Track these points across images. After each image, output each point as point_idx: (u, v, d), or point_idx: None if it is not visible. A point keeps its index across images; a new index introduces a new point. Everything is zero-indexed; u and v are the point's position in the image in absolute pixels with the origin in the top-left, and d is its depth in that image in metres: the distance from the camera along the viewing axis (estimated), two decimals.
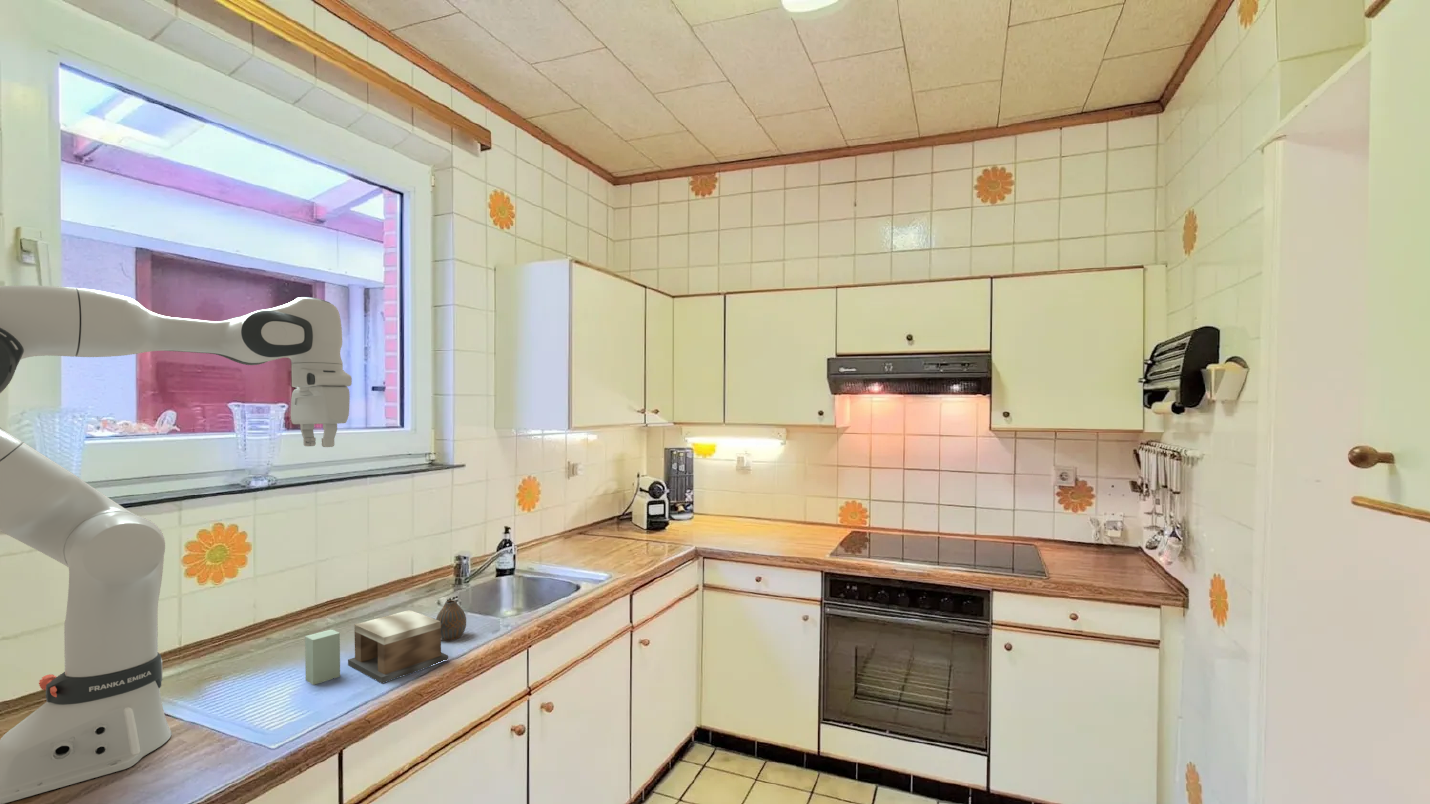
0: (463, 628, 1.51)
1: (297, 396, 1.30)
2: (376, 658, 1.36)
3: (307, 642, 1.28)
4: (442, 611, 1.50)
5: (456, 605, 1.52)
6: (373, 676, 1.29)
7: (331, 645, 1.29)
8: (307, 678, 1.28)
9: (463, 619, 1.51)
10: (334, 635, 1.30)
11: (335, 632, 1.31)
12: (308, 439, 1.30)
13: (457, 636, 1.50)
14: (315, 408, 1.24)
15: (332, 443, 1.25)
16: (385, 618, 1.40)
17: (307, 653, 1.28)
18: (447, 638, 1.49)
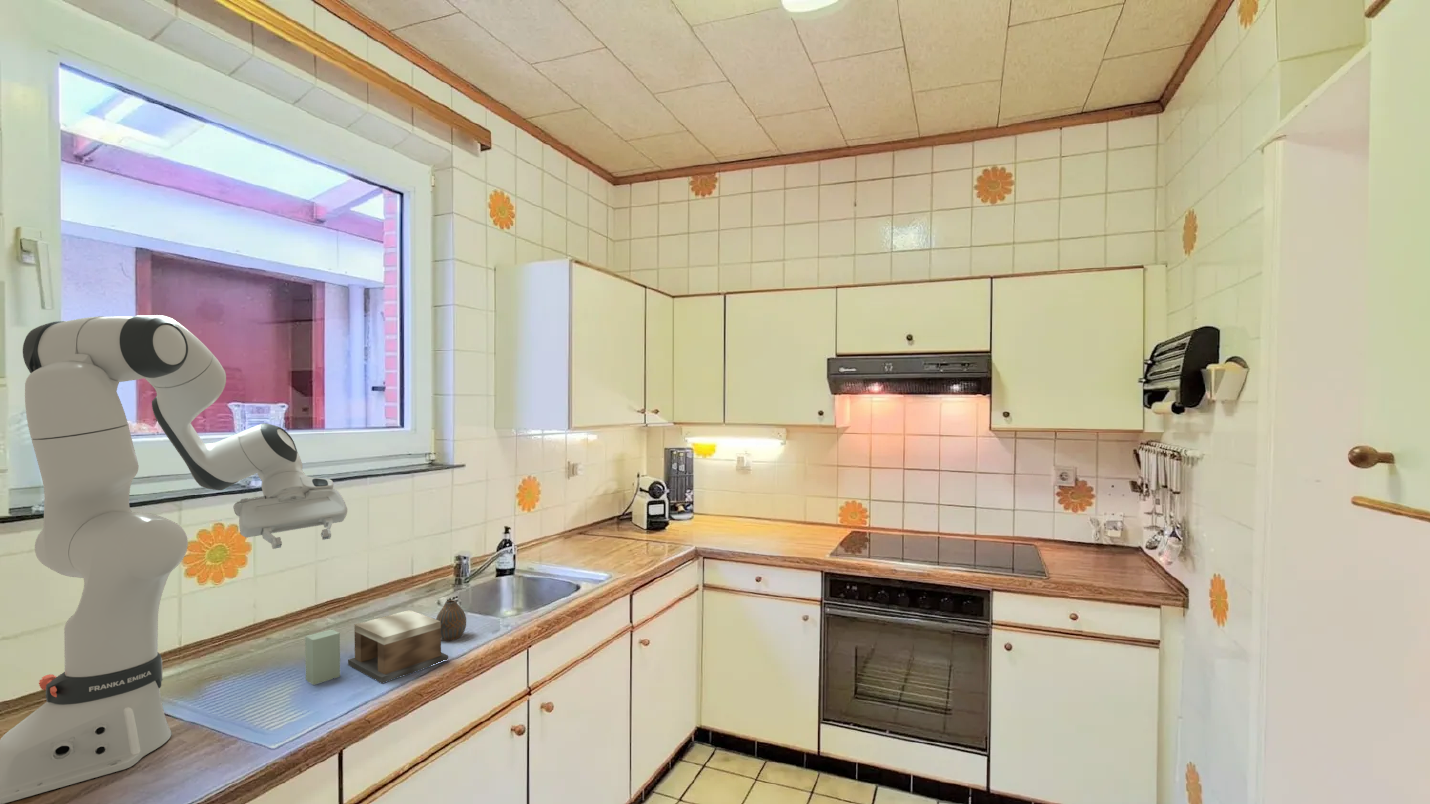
0: (463, 627, 1.51)
1: (262, 504, 1.37)
2: (376, 658, 1.36)
3: (307, 642, 1.28)
4: (442, 611, 1.50)
5: (456, 605, 1.52)
6: (373, 676, 1.29)
7: (332, 645, 1.29)
8: (307, 678, 1.28)
9: (463, 619, 1.51)
10: (334, 635, 1.30)
11: (335, 632, 1.31)
12: None
13: (457, 636, 1.50)
14: (313, 507, 1.43)
15: None
16: (385, 618, 1.40)
17: (307, 653, 1.28)
18: (447, 638, 1.49)
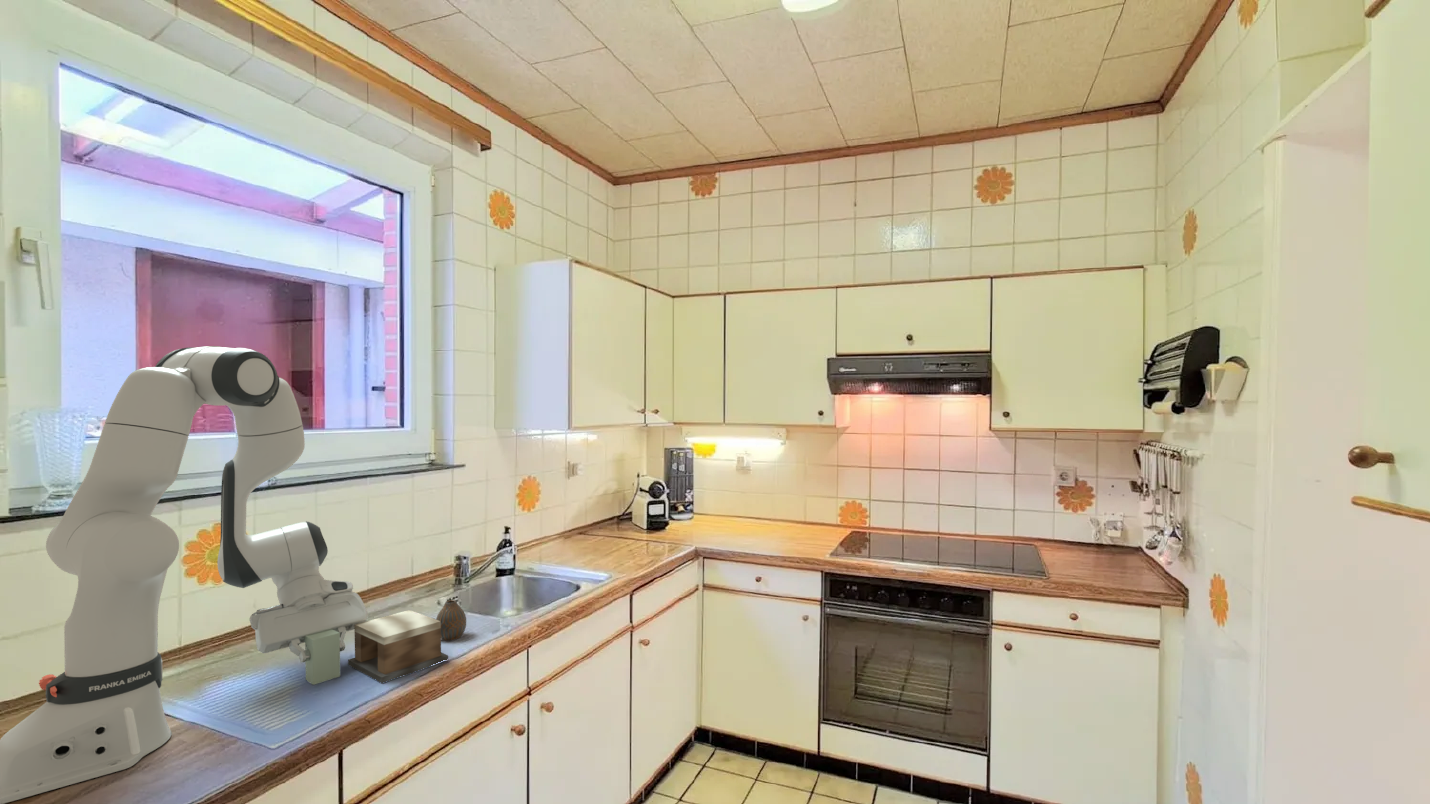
0: (463, 628, 1.51)
1: (280, 615, 1.29)
2: (376, 658, 1.36)
3: (307, 642, 1.28)
4: (442, 611, 1.50)
5: (456, 605, 1.52)
6: (373, 676, 1.29)
7: (331, 645, 1.29)
8: (307, 678, 1.28)
9: (463, 619, 1.51)
10: (334, 634, 1.30)
11: (335, 632, 1.31)
12: None
13: (457, 636, 1.50)
14: (333, 614, 1.35)
15: None
16: (385, 618, 1.40)
17: None
18: (447, 638, 1.49)
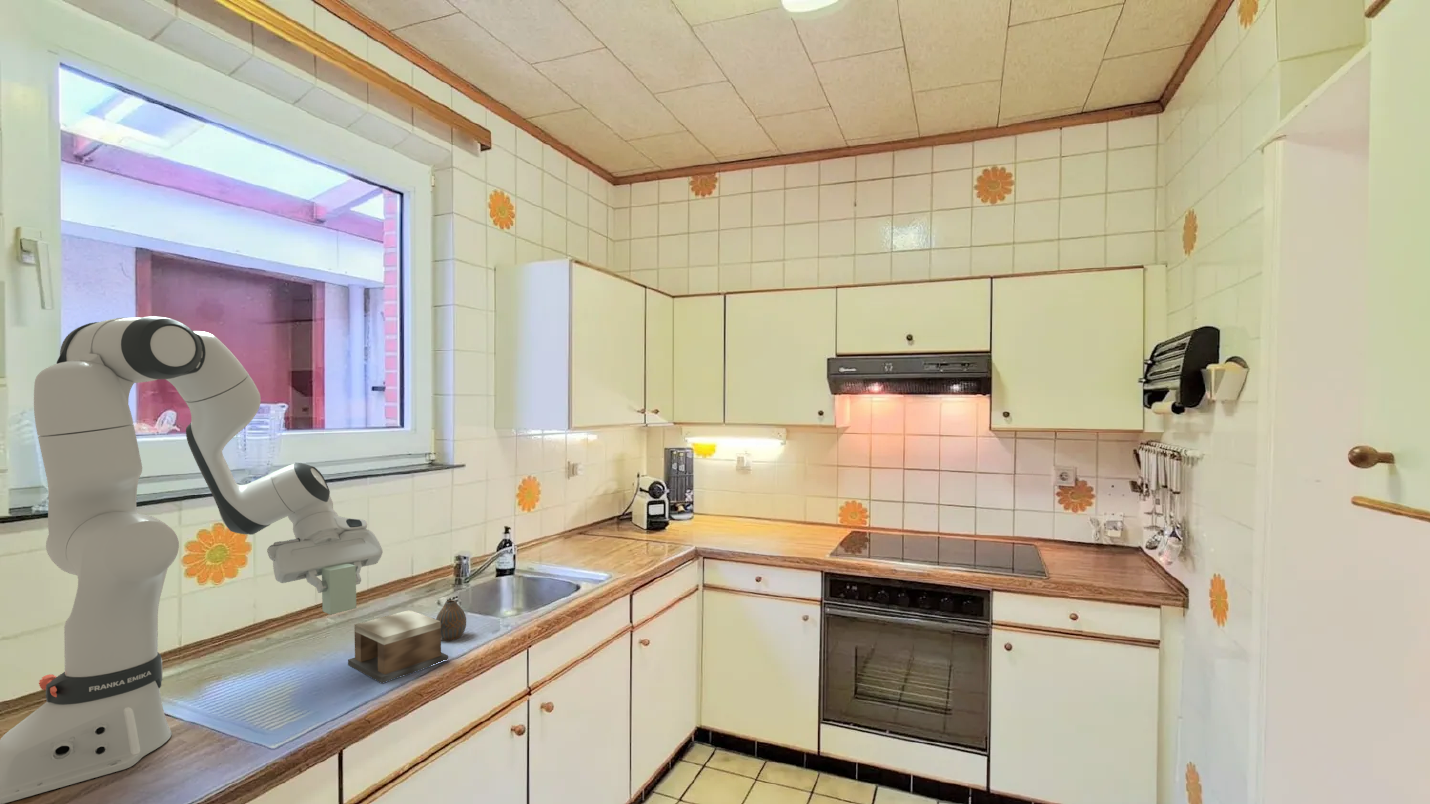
0: (463, 627, 1.51)
1: (297, 547, 1.31)
2: (376, 658, 1.36)
3: (323, 574, 1.30)
4: (442, 611, 1.50)
5: (456, 605, 1.52)
6: (373, 676, 1.29)
7: (348, 577, 1.31)
8: (324, 609, 1.30)
9: (463, 619, 1.51)
10: (350, 567, 1.32)
11: (351, 565, 1.33)
12: None
13: (457, 636, 1.50)
14: (349, 549, 1.37)
15: None
16: (385, 618, 1.40)
17: None
18: (447, 638, 1.49)
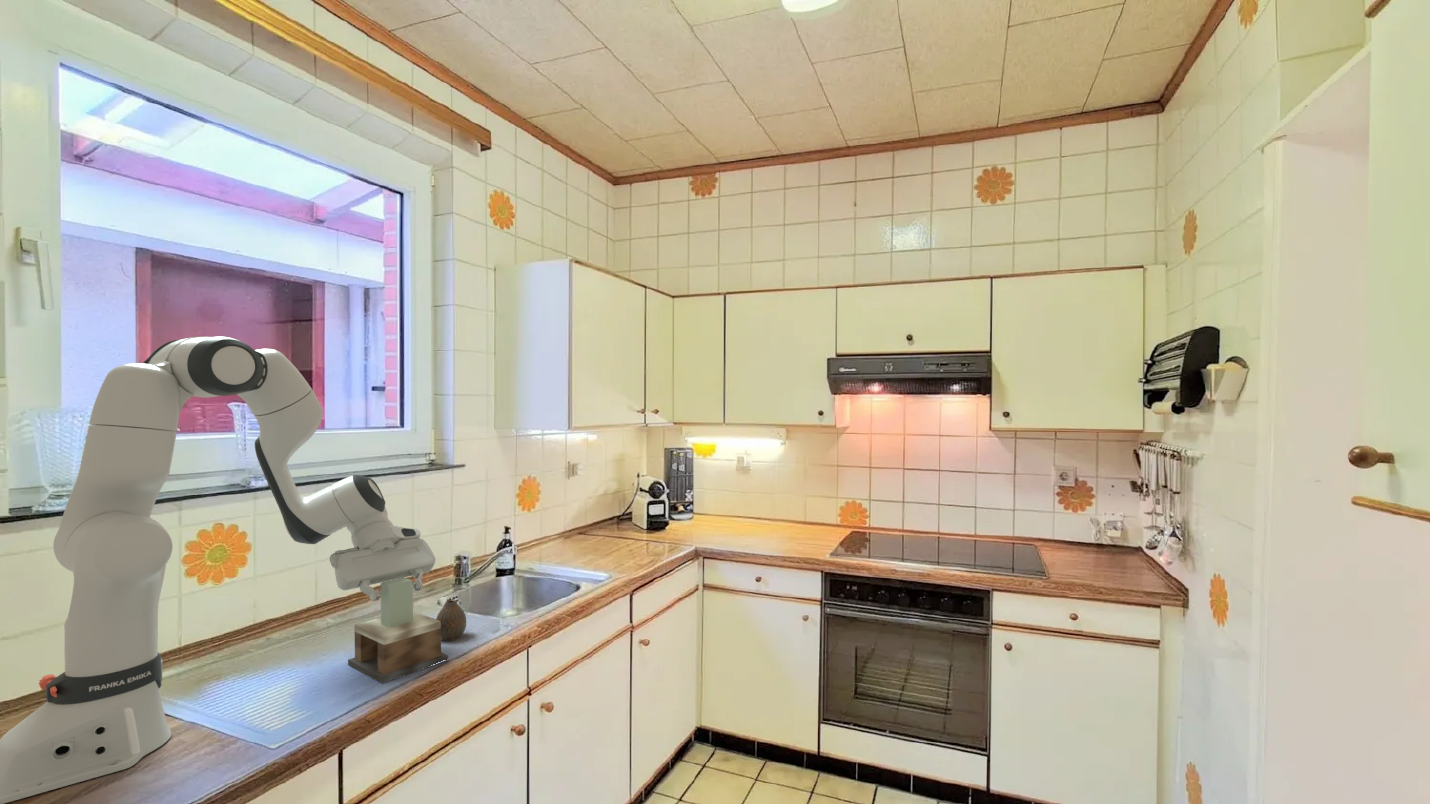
0: (463, 628, 1.51)
1: (358, 556, 1.36)
2: (376, 658, 1.36)
3: (382, 588, 1.36)
4: (442, 611, 1.50)
5: (456, 605, 1.52)
6: (373, 676, 1.29)
7: (405, 591, 1.37)
8: (383, 622, 1.36)
9: (463, 619, 1.51)
10: (408, 581, 1.37)
11: (408, 579, 1.38)
12: None
13: (457, 636, 1.50)
14: (405, 557, 1.42)
15: None
16: None
17: (383, 598, 1.36)
18: (447, 638, 1.49)
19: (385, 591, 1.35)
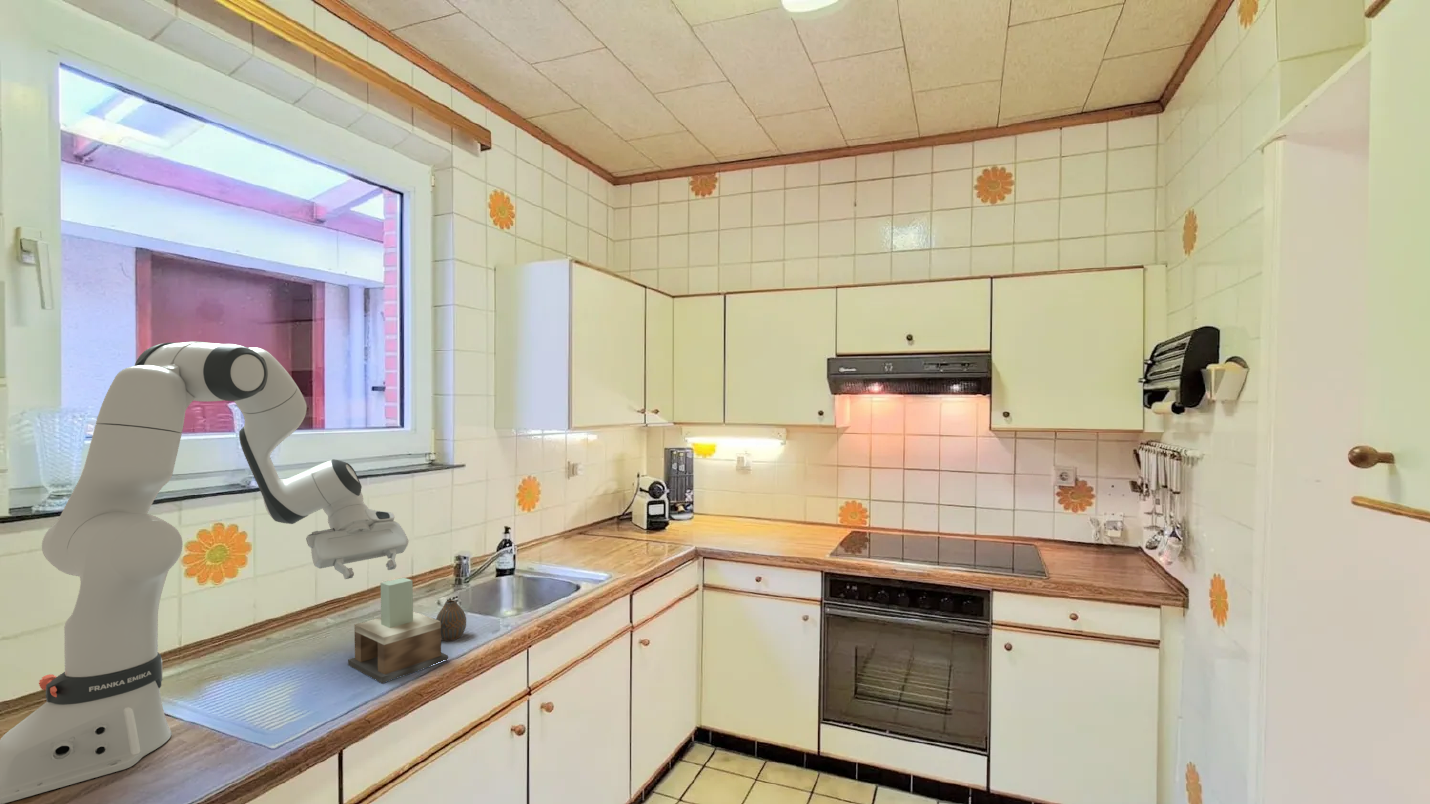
0: (463, 628, 1.51)
1: (333, 536, 1.44)
2: (376, 658, 1.36)
3: (382, 588, 1.36)
4: (442, 611, 1.50)
5: (456, 605, 1.52)
6: (373, 676, 1.29)
7: (405, 591, 1.37)
8: (383, 622, 1.36)
9: (463, 619, 1.51)
10: (408, 581, 1.37)
11: (408, 579, 1.38)
12: None
13: (457, 636, 1.50)
14: (378, 538, 1.50)
15: None
16: None
17: (383, 598, 1.36)
18: (447, 638, 1.49)
19: (385, 591, 1.35)
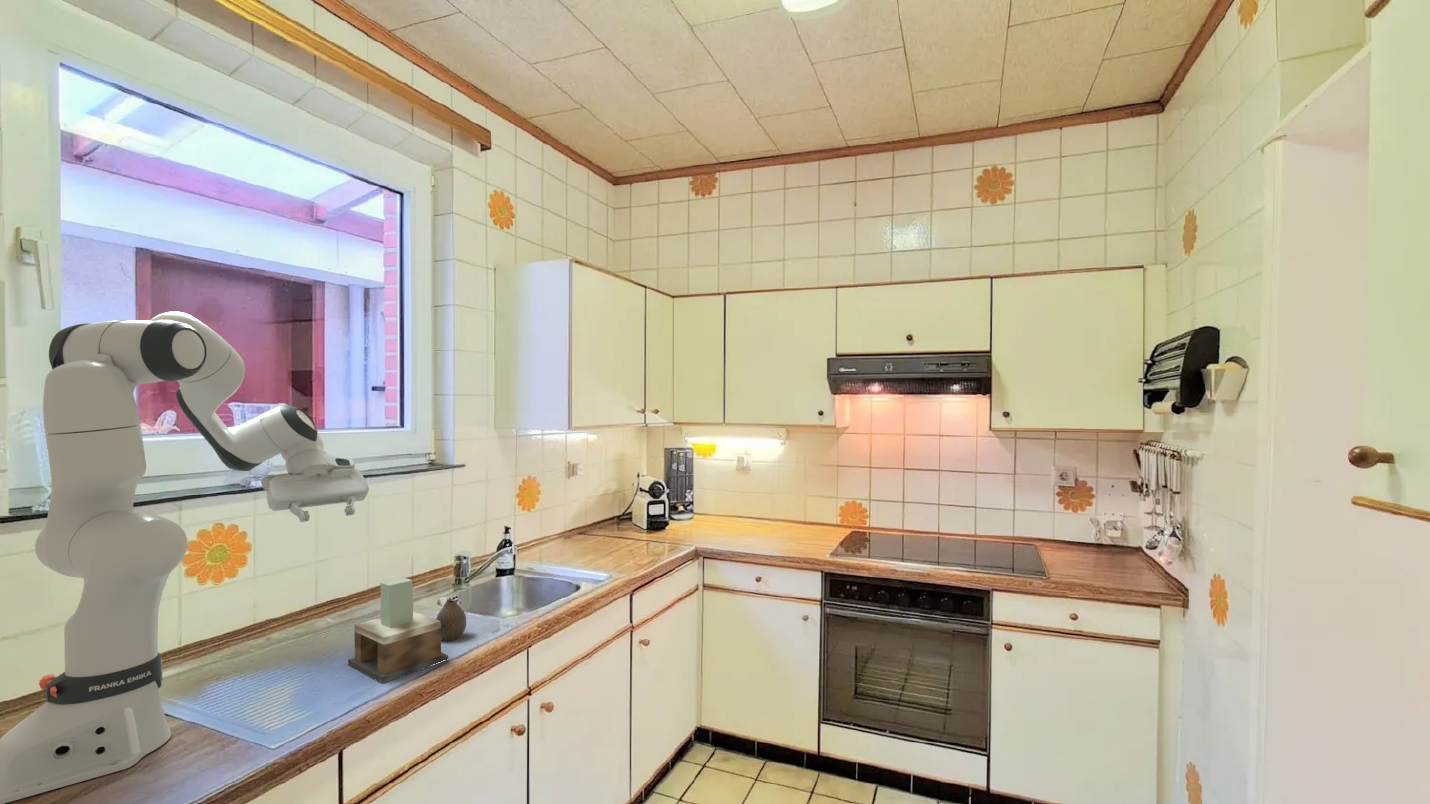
0: (463, 627, 1.51)
1: (289, 480, 1.42)
2: (376, 658, 1.36)
3: (382, 588, 1.36)
4: (442, 611, 1.50)
5: (456, 605, 1.52)
6: (373, 676, 1.29)
7: (405, 591, 1.37)
8: (383, 622, 1.36)
9: (463, 619, 1.51)
10: (408, 581, 1.37)
11: (408, 579, 1.38)
12: None
13: (457, 636, 1.50)
14: (337, 484, 1.48)
15: None
16: None
17: (383, 598, 1.36)
18: (447, 638, 1.49)
19: (385, 591, 1.35)
